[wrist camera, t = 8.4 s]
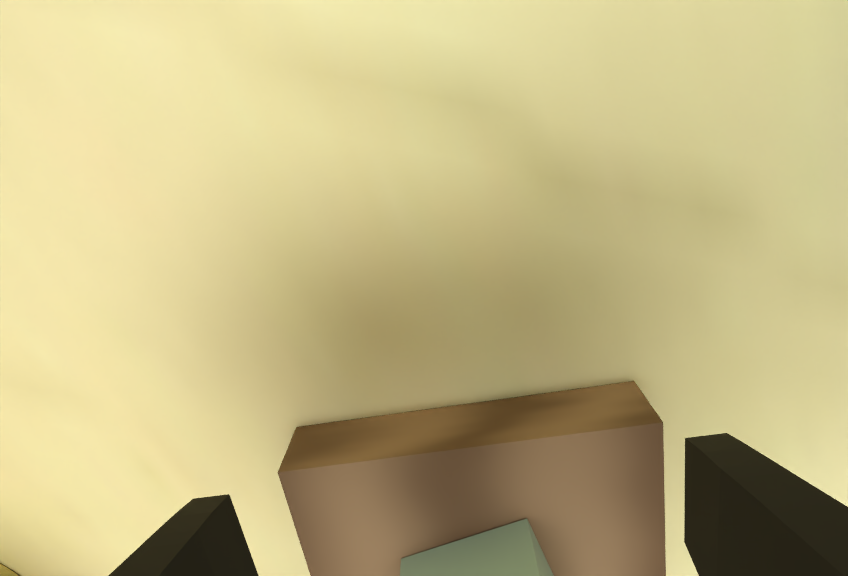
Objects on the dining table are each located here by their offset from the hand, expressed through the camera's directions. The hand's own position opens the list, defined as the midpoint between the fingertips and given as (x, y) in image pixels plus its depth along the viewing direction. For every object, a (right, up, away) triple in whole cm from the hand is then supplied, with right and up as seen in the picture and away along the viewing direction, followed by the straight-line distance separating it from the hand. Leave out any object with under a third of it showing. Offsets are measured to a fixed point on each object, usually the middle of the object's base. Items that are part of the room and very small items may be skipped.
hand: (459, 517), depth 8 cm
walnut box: (+2, -6, +13) cm, 14 cm away
